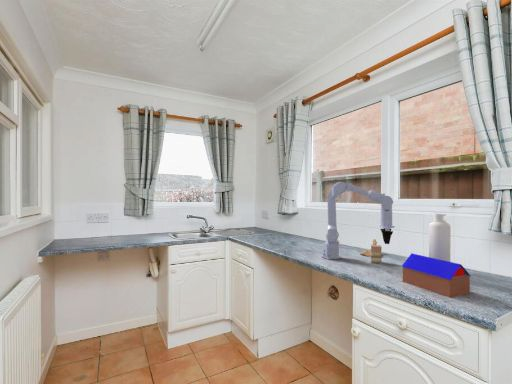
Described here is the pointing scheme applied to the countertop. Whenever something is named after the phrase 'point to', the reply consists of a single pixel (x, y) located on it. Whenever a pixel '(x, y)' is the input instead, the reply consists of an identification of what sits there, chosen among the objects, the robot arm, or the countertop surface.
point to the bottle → (439, 238)
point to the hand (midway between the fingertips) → (386, 242)
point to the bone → (368, 253)
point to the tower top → (375, 255)
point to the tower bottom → (376, 260)
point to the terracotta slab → (376, 248)
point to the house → (436, 275)
